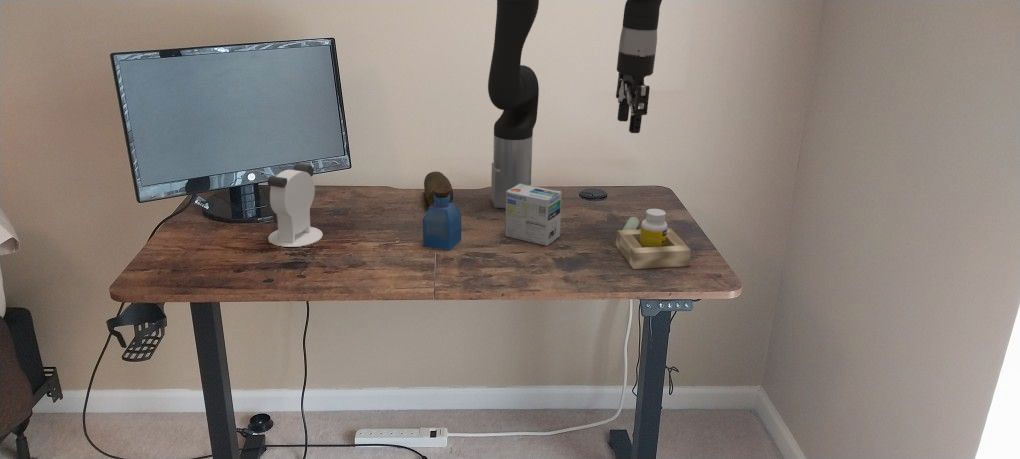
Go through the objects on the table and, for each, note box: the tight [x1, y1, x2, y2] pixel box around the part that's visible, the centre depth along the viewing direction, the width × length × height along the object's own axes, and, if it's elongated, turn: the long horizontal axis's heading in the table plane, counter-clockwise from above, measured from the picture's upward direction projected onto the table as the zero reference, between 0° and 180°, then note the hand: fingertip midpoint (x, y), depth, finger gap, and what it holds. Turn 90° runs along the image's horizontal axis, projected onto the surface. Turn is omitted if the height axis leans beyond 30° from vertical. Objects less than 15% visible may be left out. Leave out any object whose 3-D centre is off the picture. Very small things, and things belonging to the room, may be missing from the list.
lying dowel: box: [621, 216, 640, 230], centre depth 175 cm, size 8×3×3 cm
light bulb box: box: [504, 184, 563, 247], centre depth 170 cm, size 11×7×11 cm, turn 62°
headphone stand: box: [267, 163, 323, 248], centre depth 166 cm, size 12×11×15 cm
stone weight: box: [423, 170, 454, 206], centre depth 190 cm, size 15×7×7 cm, turn 14°
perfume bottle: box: [422, 188, 462, 251], centre depth 166 cm, size 6×6×12 cm
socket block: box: [615, 227, 692, 270], centre depth 164 cm, size 12×12×4 cm
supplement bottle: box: [639, 208, 668, 248], centre depth 162 cm, size 5×5×10 cm
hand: (628, 126), depth 166 cm, fingers open, 8 cm apart
